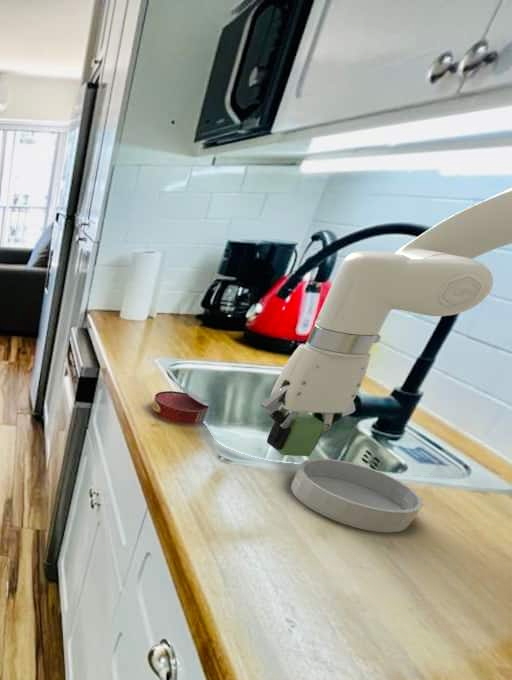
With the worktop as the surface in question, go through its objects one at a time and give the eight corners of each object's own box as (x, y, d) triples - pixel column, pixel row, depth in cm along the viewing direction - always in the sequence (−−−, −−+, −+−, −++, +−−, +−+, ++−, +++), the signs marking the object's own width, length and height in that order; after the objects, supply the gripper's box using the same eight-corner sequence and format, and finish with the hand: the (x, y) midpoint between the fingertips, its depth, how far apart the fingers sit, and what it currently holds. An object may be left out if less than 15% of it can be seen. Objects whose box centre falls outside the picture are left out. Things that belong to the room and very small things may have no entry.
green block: (292, 443, 83) (307, 412, 80) (309, 456, 79) (326, 424, 76) (266, 442, 83) (280, 411, 80) (282, 455, 79) (298, 423, 76)
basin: (358, 478, 78) (368, 460, 76) (437, 534, 66) (452, 514, 64) (271, 475, 78) (279, 457, 76) (333, 530, 66) (345, 510, 64)
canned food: (154, 422, 105) (170, 378, 104) (205, 434, 98) (222, 387, 97) (139, 413, 96) (155, 365, 95) (193, 425, 90) (211, 373, 89)
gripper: (376, 335, 75) (323, 437, 84) (267, 331, 75) (226, 434, 84) (418, 350, 68) (356, 459, 78) (299, 346, 69) (251, 455, 78)
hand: (289, 445), depth 81 cm, fingers closed on green block, 4 cm apart
